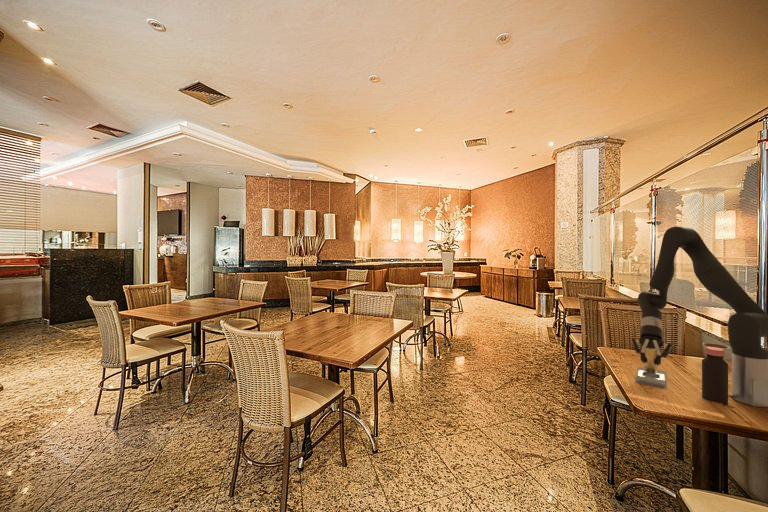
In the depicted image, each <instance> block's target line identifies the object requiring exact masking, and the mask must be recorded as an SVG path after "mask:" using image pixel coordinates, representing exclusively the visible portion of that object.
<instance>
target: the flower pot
mask: <svg viewBox="0 0 768 512" xmlns="http://www.w3.org/2000/svg"><path fill="white" fill-rule="evenodd" d="M702 346H703V349H704V350H705V347H717V348H721V349H724V357H723V360H724V361H725V362H726V359H727V355H728V352H729V349H730V346H727V345H724V344H720V343H714V342H713V343H712V342H711V343H710V342H703V343H702ZM704 354H705V357H707V355H706V353H704Z"/></svg>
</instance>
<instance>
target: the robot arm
mask: <svg viewBox="0 0 768 512" xmlns="http://www.w3.org/2000/svg"><path fill="white" fill-rule="evenodd" d="M680 248H681V249H682V251H684V252H685V254H686V255H688V256H689V258H690V260H691V262H692V268H693V272H694V275H695V276H696V278H697V280H698V281H699V282H700V283H701V284H702V287H704V288H705V289H706V290H707V291H708V292H710V294H712V295H714V296H715V297H716V298H718V299H720V300H722V301H723V302H725V303H726V304H727V305H729V306H730V307H731V308H732V310H733V311H734V312H735V313H733V314H731V315H730V317H729V318H728V321H727V334H728V336H727V337H728V344H729V345H730V346H729V347H730V349H731V397H732V399H733V400H735V401H737V402H739V403H742V404H745V405H750V406H752V407H761V408H768V349H767V348H764V347H762V345H761V338H768V313H767V312H766V311H765V310H764V309H763V308H762V307H761V305H759V304H758V303H757V302H755V300H754V299H753V298H751V296H750V294H748V293H747V292H746V291H745V290H744V289H743V288H742V286H741V285H740V284H739V283H738V281H736V279H735V278H734V276H733V275H732V273H730V272H729V270H727V268H726V267H725V266H724V265H723V264H722V263H721V262H720V261H719V259H718V258H717V257H716V256H715V255H714V253H712V251H711V250H710V249H709V248H708V246H707V245H706V243H705V242H704V240H703V239H702V237H701V235H700V234H699V233H698V232H697V231H696V230H695V229H694V228H691V227H688V226H687V227H685V226H678V225H676V226H671V227H669V228H668V229H666V231H665V232H664V234H663V237H662V240H661V246H660V251H659V254H658V258H657V262H656V266H655V269H654V270H653V271H654V272H653V274H652V276H651V278H650V281H649V283H648V284H649V285H648V286H649V287H650V288H652V289H654V290H656V291H658V292H659V293H655V292H651V291H645V290H644V291H641V292H640V293H639V294H638V296H637V301H638V302H637V303H638V305H639V308H640V311H641V321H640V334H639V335H640V336H639V338H638V339H635V338H632V339H631V344H632V346H633V349H634V351H635V354H639V355H640V361H641V362H642V364H645V347H651V348H655V349H657V367H659V365H660V366H661V364H662V358H663V359H666V358H668V355H669V353H670V352H671V351H672V347H673V346H672V344H671V343H665V341H663V332H664V331H663V329H664V328H663V323H662V320H663V318H662V317H663V316H662V311H661V310H662V309H664V308H666V306H667V304H668V291H669V287H670V285H671V283H672V281H673V279H674V275H675V258H676V255H677V252H678V251H679V249H680ZM639 344H640V345H641V346H642V347H641V349H639V346H638V345H639ZM662 347H663V348H664V350H663V352H661V351H660V350H661V348H662Z"/></svg>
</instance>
